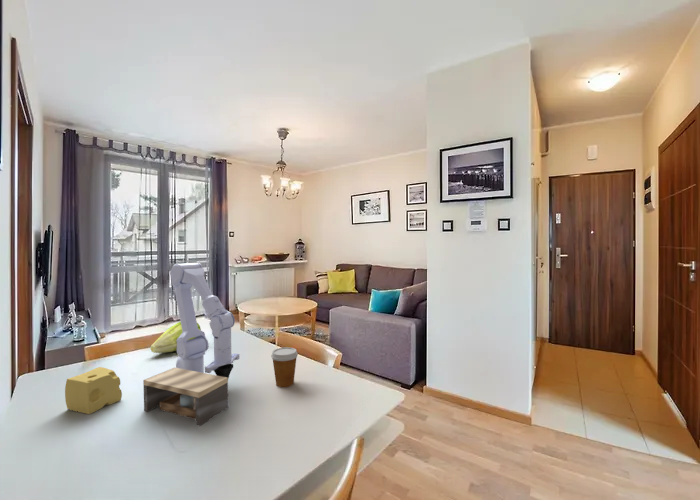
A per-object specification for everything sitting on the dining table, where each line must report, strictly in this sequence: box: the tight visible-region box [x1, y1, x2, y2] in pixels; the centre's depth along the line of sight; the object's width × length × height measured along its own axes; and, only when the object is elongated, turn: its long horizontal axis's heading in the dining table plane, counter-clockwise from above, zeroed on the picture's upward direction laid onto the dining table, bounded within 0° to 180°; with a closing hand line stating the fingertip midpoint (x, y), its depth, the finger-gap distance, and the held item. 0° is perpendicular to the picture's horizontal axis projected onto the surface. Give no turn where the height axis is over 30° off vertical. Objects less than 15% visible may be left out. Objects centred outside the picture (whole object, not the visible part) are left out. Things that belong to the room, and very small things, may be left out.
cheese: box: [64, 366, 123, 415], centre depth 105 cm, size 10×11×10 cm
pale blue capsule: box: [180, 394, 194, 409], centre depth 101 cm, size 4×4×4 cm
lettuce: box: [150, 321, 202, 354], centre depth 159 cm, size 15×24×14 cm, turn 153°
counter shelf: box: [143, 367, 229, 427], centre depth 102 cm, size 23×11×10 cm, turn 67°
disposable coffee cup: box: [270, 346, 298, 388], centre depth 120 cm, size 10×10×12 cm
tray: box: [159, 393, 196, 420], centre depth 107 cm, size 15×18×2 cm
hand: (223, 385), depth 116 cm, fingers closed
